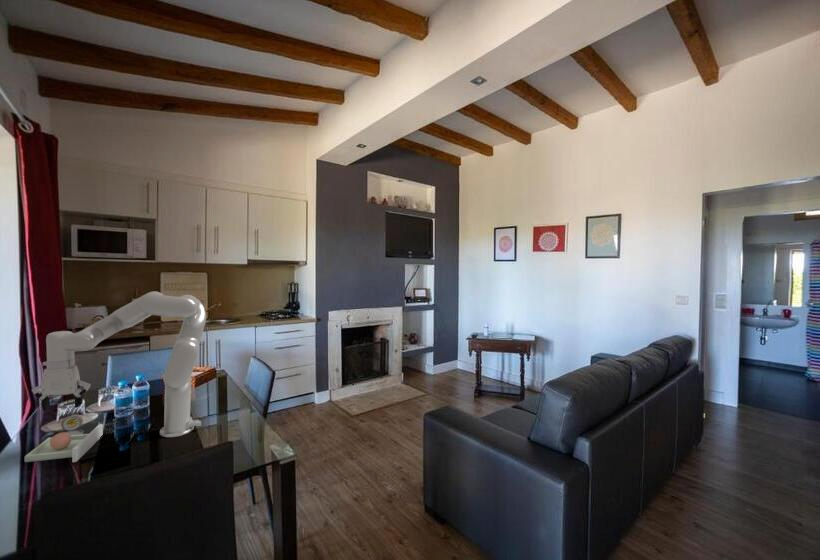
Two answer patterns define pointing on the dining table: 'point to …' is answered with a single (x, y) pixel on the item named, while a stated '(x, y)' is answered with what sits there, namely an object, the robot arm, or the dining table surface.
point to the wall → (87, 443)
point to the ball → (60, 440)
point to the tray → (53, 450)
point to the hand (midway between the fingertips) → (62, 407)
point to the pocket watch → (74, 423)
